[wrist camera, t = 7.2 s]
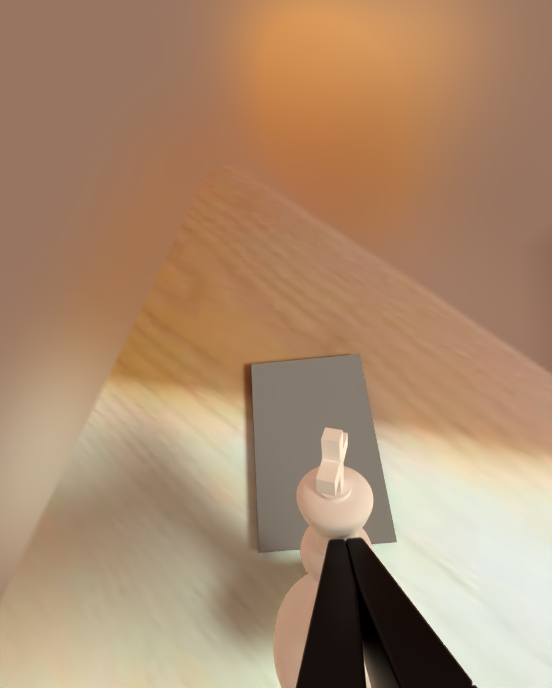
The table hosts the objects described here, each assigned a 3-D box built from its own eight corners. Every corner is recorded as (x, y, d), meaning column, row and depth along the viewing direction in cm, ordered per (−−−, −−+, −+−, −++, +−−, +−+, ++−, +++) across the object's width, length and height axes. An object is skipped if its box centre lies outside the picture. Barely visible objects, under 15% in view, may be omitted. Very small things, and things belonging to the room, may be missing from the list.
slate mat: (394, 541, 15) (396, 542, 15) (259, 551, 15) (258, 552, 15) (358, 357, 19) (359, 354, 19) (252, 366, 20) (251, 364, 19)
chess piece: (252, 703, 12) (188, 495, 7) (295, 560, 16) (272, 371, 11) (410, 777, 10) (456, 566, 5) (412, 595, 14) (440, 388, 9)
